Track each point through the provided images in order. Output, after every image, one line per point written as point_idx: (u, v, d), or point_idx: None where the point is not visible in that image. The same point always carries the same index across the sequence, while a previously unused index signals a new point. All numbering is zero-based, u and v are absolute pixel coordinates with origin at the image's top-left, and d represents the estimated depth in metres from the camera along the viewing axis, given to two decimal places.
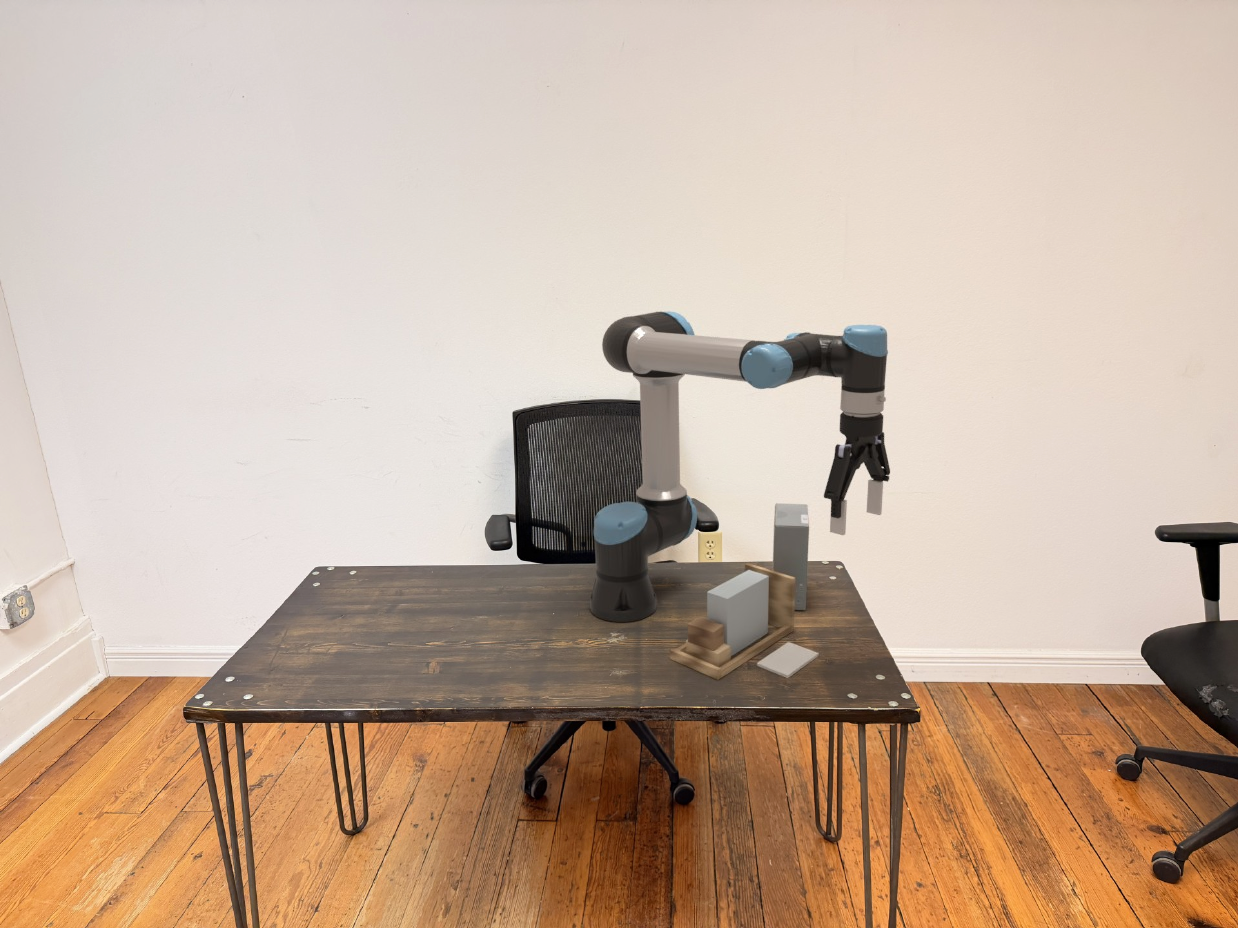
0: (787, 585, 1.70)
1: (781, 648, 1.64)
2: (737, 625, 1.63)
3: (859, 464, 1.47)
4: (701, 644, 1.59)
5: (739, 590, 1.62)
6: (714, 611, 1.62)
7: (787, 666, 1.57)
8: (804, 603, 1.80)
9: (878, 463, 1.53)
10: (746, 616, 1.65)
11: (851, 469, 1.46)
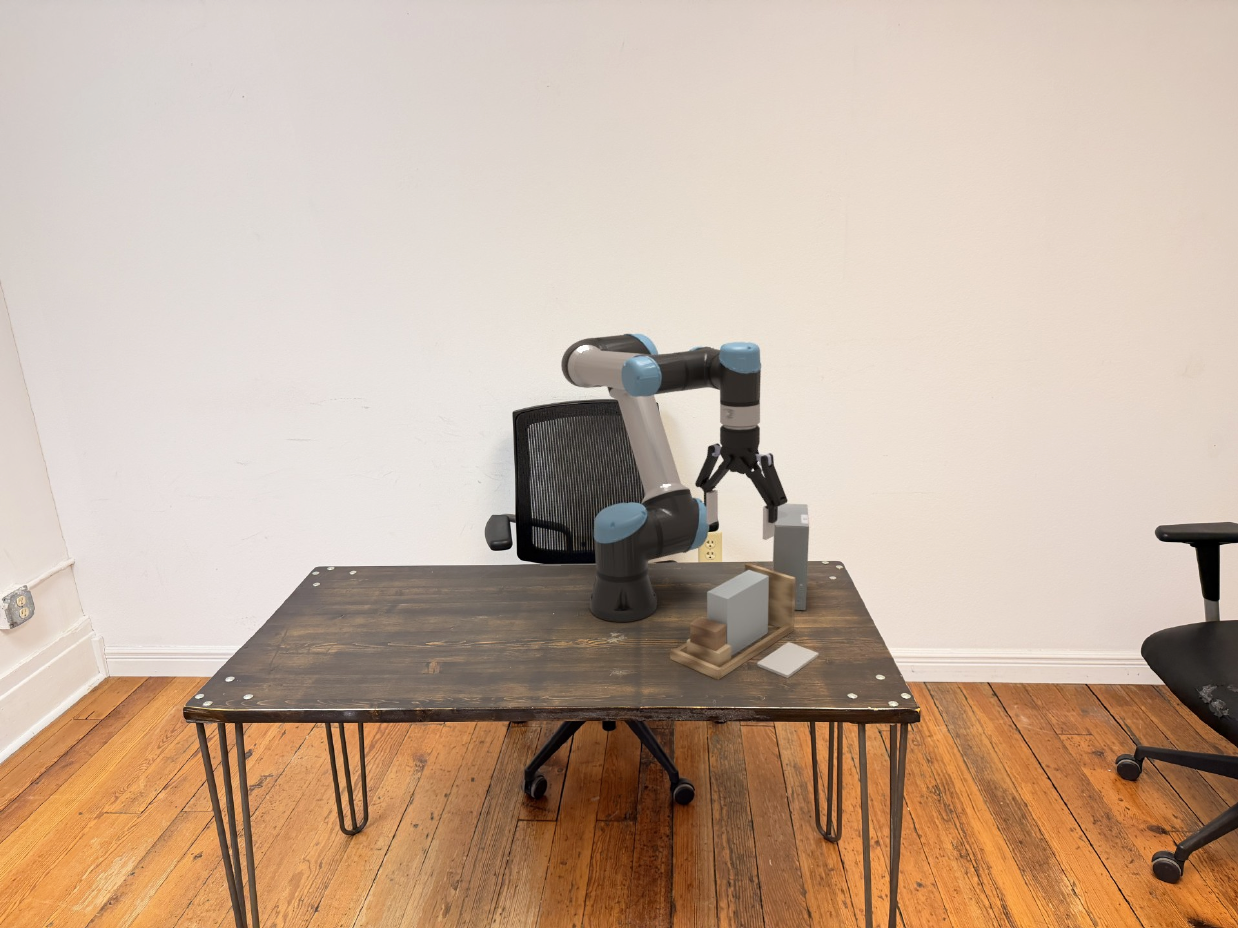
0: (787, 585, 1.70)
1: (781, 648, 1.64)
2: (737, 625, 1.63)
3: (721, 468, 1.59)
4: (703, 644, 1.59)
5: (739, 590, 1.62)
6: (714, 611, 1.62)
7: (787, 666, 1.57)
8: (804, 603, 1.80)
9: (757, 484, 1.54)
10: (746, 616, 1.65)
11: None
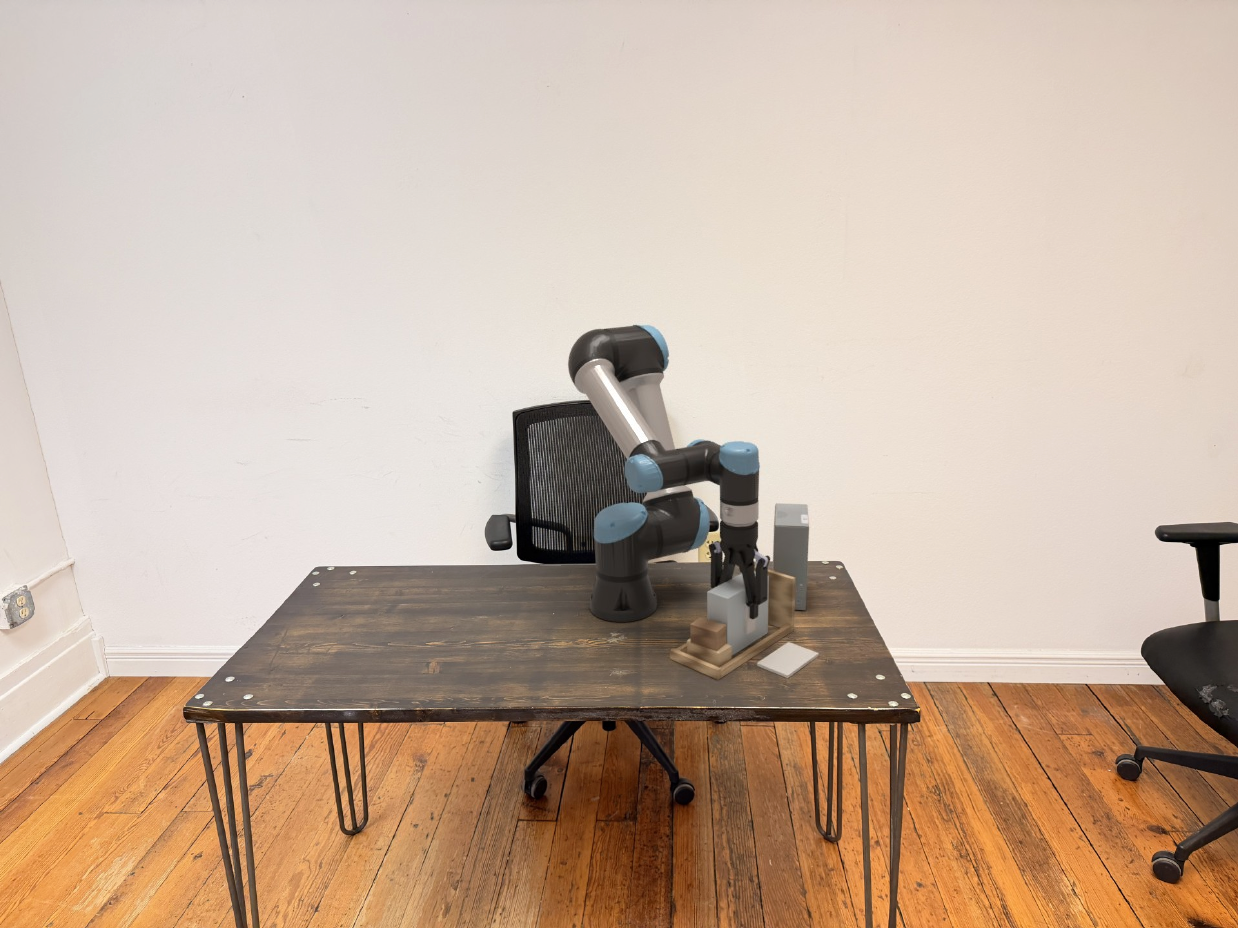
0: (787, 585, 1.70)
1: (781, 648, 1.64)
2: (737, 624, 1.63)
3: (725, 564, 1.64)
4: (704, 644, 1.59)
5: (739, 590, 1.62)
6: (714, 610, 1.62)
7: (787, 666, 1.57)
8: (804, 603, 1.80)
9: (747, 581, 1.62)
10: None
11: None
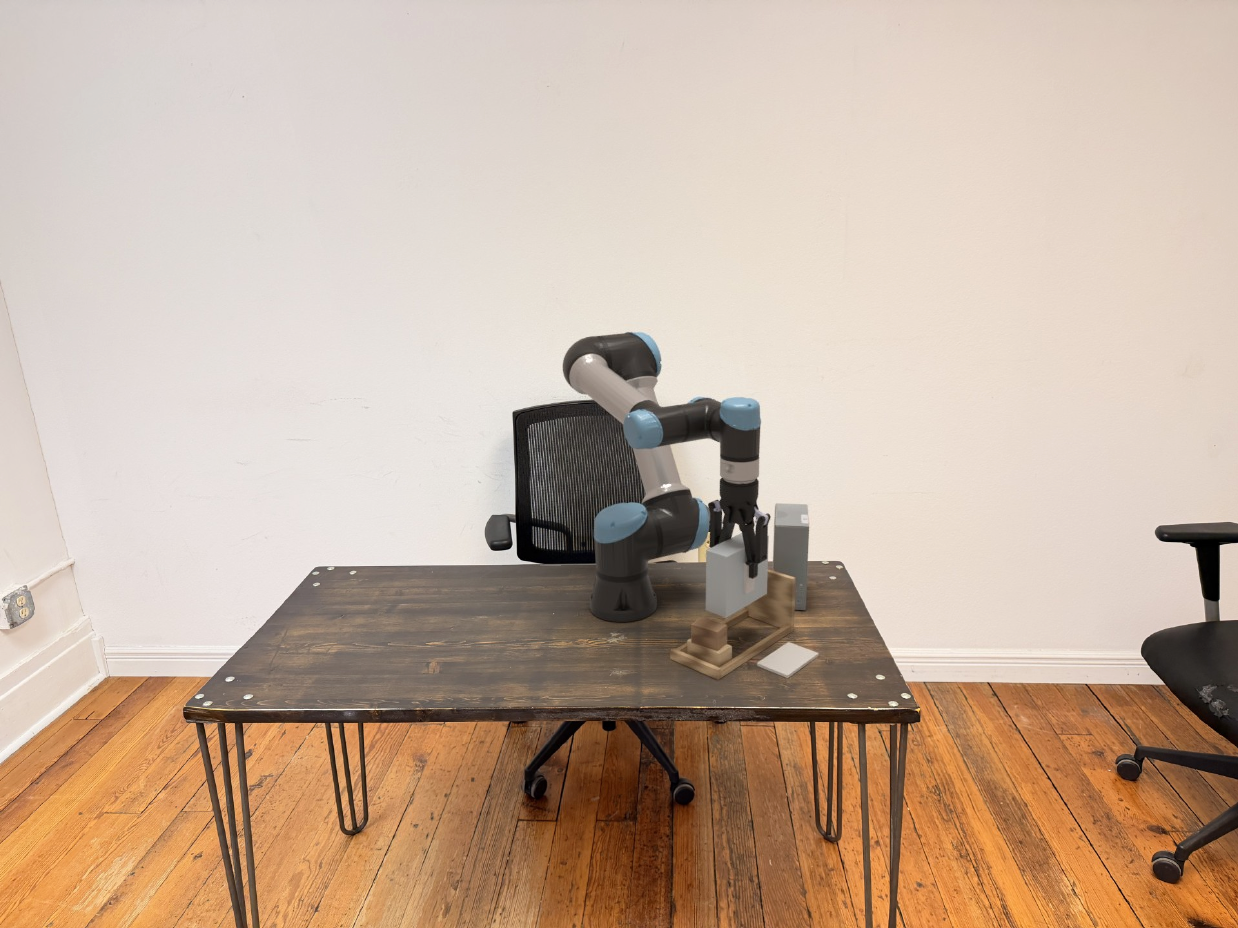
0: (787, 585, 1.70)
1: (781, 648, 1.64)
2: (736, 584, 1.61)
3: (725, 523, 1.62)
4: (705, 644, 1.59)
5: (739, 549, 1.60)
6: (713, 569, 1.60)
7: (787, 666, 1.57)
8: (804, 603, 1.80)
9: (746, 540, 1.60)
10: None
11: (723, 526, 1.63)
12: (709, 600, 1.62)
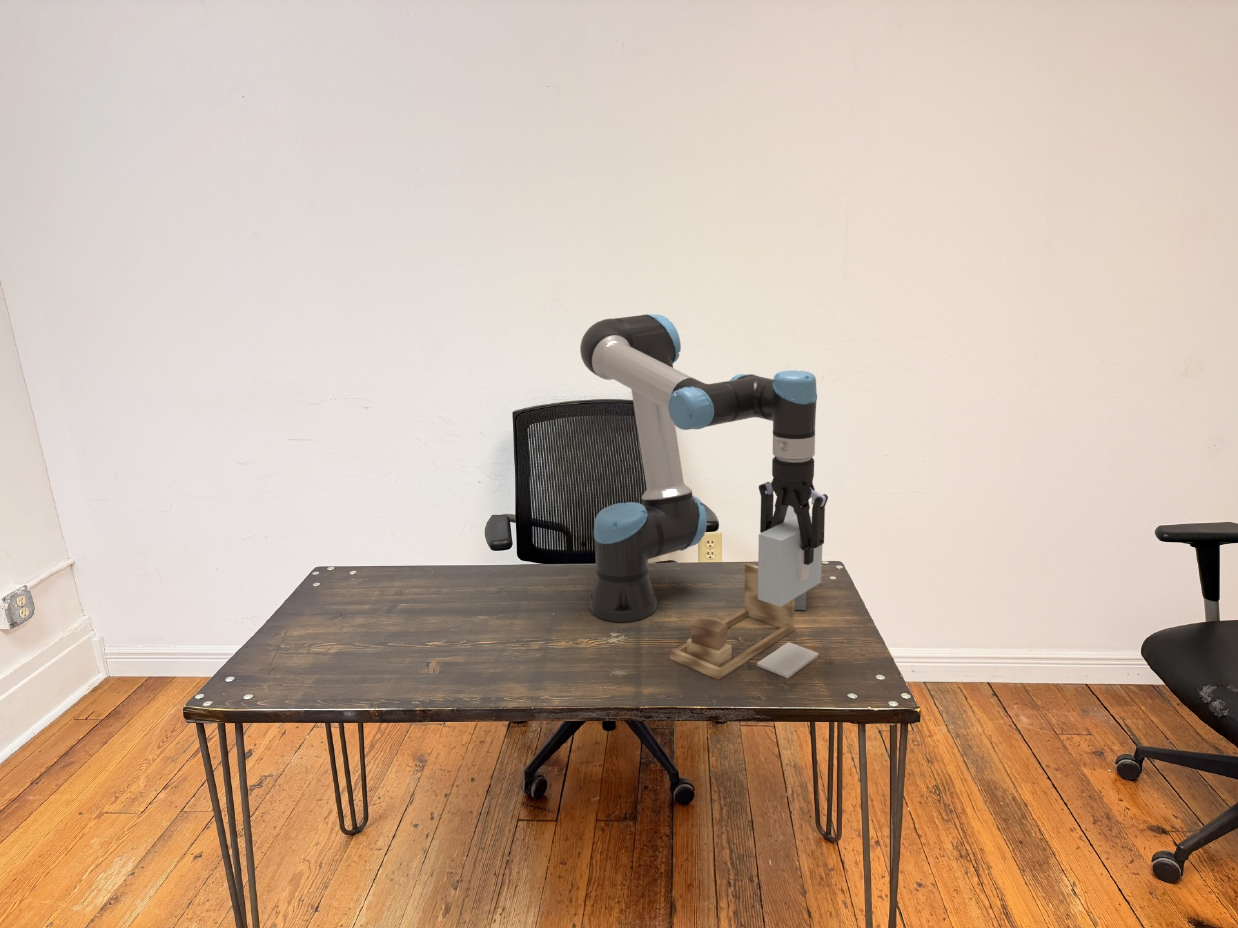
0: None
1: (781, 648, 1.64)
2: (791, 570, 1.50)
3: (778, 505, 1.52)
4: (705, 644, 1.59)
5: (794, 533, 1.49)
6: (766, 555, 1.49)
7: (787, 666, 1.57)
8: (804, 603, 1.80)
9: (802, 523, 1.49)
10: None
11: (775, 510, 1.53)
12: (761, 589, 1.52)
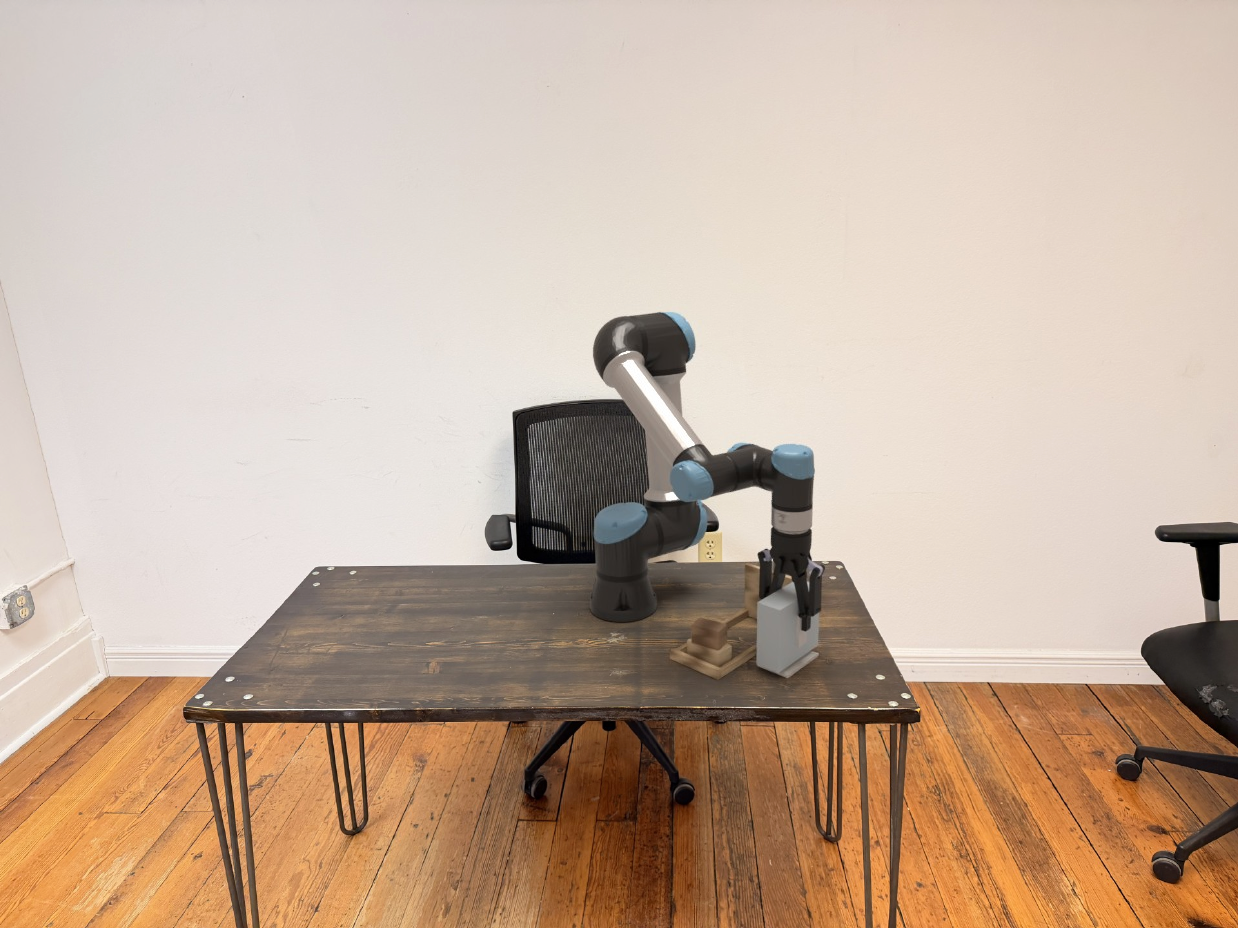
0: None
1: None
2: (789, 637, 1.54)
3: (776, 573, 1.56)
4: (705, 644, 1.59)
5: (791, 601, 1.53)
6: (765, 622, 1.53)
7: None
8: None
9: (799, 591, 1.53)
10: None
11: None
12: (760, 654, 1.56)
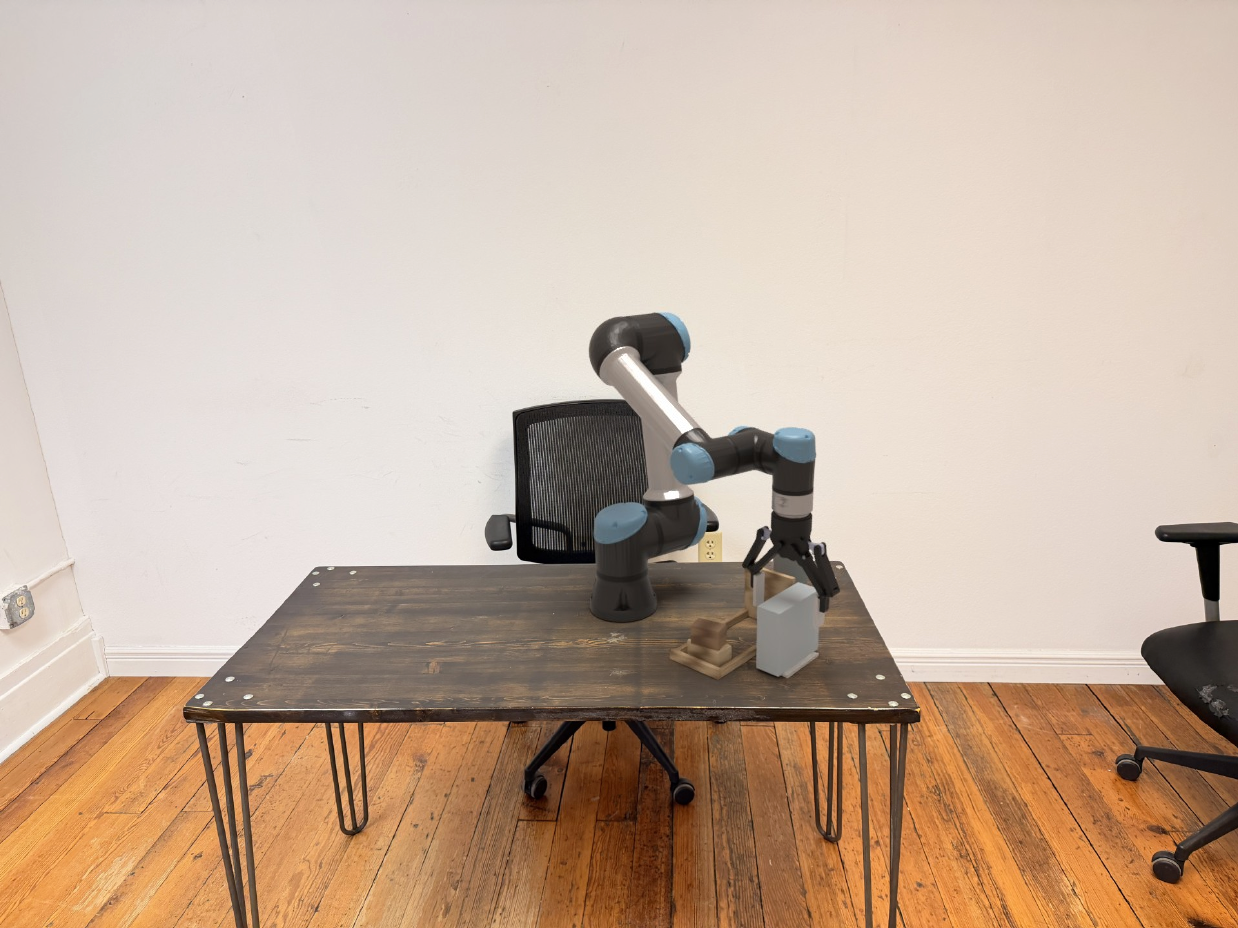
0: (787, 585, 1.70)
1: None
2: (788, 641, 1.55)
3: (770, 553, 1.55)
4: (705, 644, 1.59)
5: (791, 605, 1.54)
6: (765, 626, 1.54)
7: None
8: None
9: (809, 573, 1.51)
10: (798, 632, 1.57)
11: (766, 553, 1.57)
12: (760, 658, 1.56)
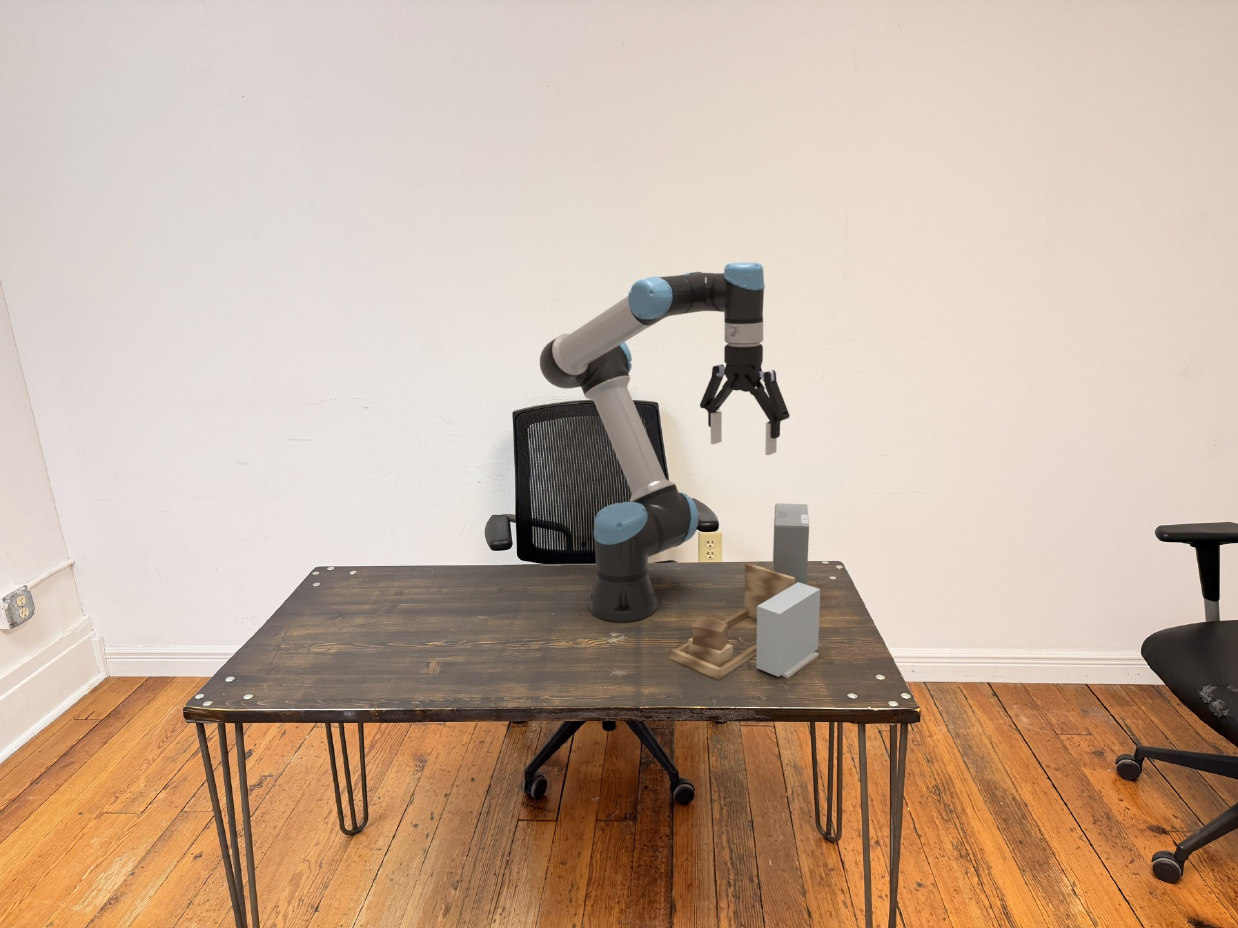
0: (787, 585, 1.70)
1: None
2: (788, 641, 1.55)
3: (725, 387, 1.64)
4: (708, 645, 1.59)
5: (791, 605, 1.54)
6: (765, 626, 1.54)
7: None
8: None
9: (761, 400, 1.59)
10: (798, 632, 1.57)
11: None
12: (760, 658, 1.56)
